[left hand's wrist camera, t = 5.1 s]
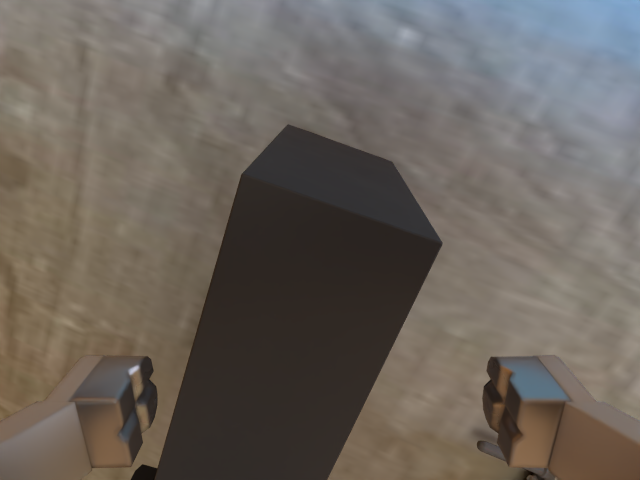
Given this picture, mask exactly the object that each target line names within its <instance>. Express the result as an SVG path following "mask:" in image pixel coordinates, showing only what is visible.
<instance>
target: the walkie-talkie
mask: <svg viewBox="0 0 640 480" xmlns="http://www.w3.org/2000/svg"><path fill="white" fill-rule="evenodd" d="M477 448H478V449H479V450H480V451H482V452H484V453H487V454H489V455H492V456H494V457H496V458H499V459H501V460H504V461H506V460H505V458H504V456H503V454H502V452H501V449H500V447H498V446H496V445H493V444H491V443H488V442H486V441H478V442H477ZM521 468H523V469H526V470H528V471H531V472H533V473H534V474H533V476H531V475H529V476H528V477H527V480H559V479H558V478H557V477H555V476H554V475H553V474H552V473H551V472H550V471H548V468H526V467H521Z"/></svg>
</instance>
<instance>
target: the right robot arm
mask: <svg viewBox="0 0 640 480" xmlns="http://www.w3.org/2000/svg"><path fill="white" fill-rule="evenodd" d="M156 472H157V468H154V467H150V466H147V465H143V464H142V465H141V466H140V467H139V468H138V469H137V470H136V471H135V472H134V474H133V476H132V478H131V480H154V479H155V476H156Z"/></svg>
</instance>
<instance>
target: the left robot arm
mask: <svg viewBox="0 0 640 480" xmlns="http://www.w3.org/2000/svg"><path fill="white" fill-rule="evenodd" d="M152 373H153V366H152V362H151V359H150V358H149V357H148V356H108V355H107V356H104V355H86V356H84V357H81V358H80V359H79V360H78V361H77V362H76V364H75V365H74V366H73V367H72V368H71V370H70V371H69V372H68V373H67V374H66V376H65V377H64V378H63V379H62V380H61V381H60V383H59V384H58V385H57V386H56V387H55V389H54V390H53V391H52V392H51V393H50V394H49V396H48V397H47V398H46V399H45V400H44V402H35V403H33V404H31V405H29V406H28V407H26V408H24V409H22V410H20V411H18V412H16V413H14V414H13V415H11V416H9V417H7V418H5V419H3V420H1V421H0V480H81V479H83V478H84V477H85V476H86V475H87V474H88V473H89V472H91V471H92V468H113V467H131V466H132V464H133V462H134V460H135V458H136V456H137V454H138V452H139V449H140V447H141V445H142V443H143V441H142V435H141V434H142V433H143V432H144V431H146V430H147V429H148V428H150V426H151V424H152V422H153V420H154V418H155V413H156V408H157V389H156V386H155V385H154V384H153V383H152V382H151V381H150V380H149V378H150V377H151V375H152ZM487 373H488V375H489V377H490V378H491V380H490V381H489V382H488V383H487V384H486V385H485V386H484V390H483V397H482V399H483V410H484V414H485V417H486V420H487V422H488V424H489V426H490V428H492V429H493V430H494V431H496V432H497V433H498V434H499V435H498V441H497V443H498V445H499V447H500V449H501V452H502V454H503V456H504V458H505V460H506V462H507V464H508V466H509V467H526V468H548V471H550V472H551V473H552V474H553V475H554V476H555V477H557V478H558V479H559V480H640V421H639V420H637V419H635V418H633V417H631V416H629V415H627V414H626V413H624V412H622V411H620V410H618V409H616V408H614V407H612V406H610V405H609V404H607V403H605V402H596V400H595V399H594V398H593V397H592V396H591V395H590V393H589V392H588V391H587V390H586V389H585V387H584V386H583V385H582V384H581V383H580V382H579V380H578V379H577V378H576V377H575V376H574V374H573V373H572V372H571V371H570V370H569V368H568V367H567V366H566V365H565V364H564V363H563V361H562V360H561V359H560V358H559V357H557V356H555V355H543V356H527V357H491V358H490V360H489V361H488V366H487Z"/></svg>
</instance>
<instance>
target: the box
mask: <svg viewBox="0 0 640 480" xmlns="http://www.w3.org/2000/svg"><path fill="white" fill-rule="evenodd" d="M441 246H442V241H441V240H440V238H439V236H438V235H437V233H436V232H435V230H434V228H433V227H432V225H431V224H430V222H429V220H428V219H427V217H426V216H425V214H424V212H423V211H422V209H421V207H420V206H419V204H418V203H417V201H416V199H415V198H414V196H413V195H412V193H411V191H410V190H409V188H408V187H407V185H406V183H405V182H404V180H403V179H402V177H401V175H400V174H399V172H398V170H397V169H396V167H395V166H394V164H393V162H391V161H389V160H386V159H383V158H380V157H378V156H375V155H372V154H369V153H366V152H364V151H361V150H358V149H355V148H353V147H350V146H347V145H344V144H341V143H339V142H336V141H333V140H330V139H328V138H325V137H322V136H319V135H316V134H314V133H311V132H308V131H305V130H303V129H300V128H297V127H294V126H291V125H287V126H286V127H285V128H284V129H283V130H282V131H281V132H280V133H279V135H278V136H277V137H276V138H275V139H274V140H273V141H272V142H271V143H270V144H269V145H268V146H267V148H266V149H265V150H264V151H263V152H262V153H261V154H260V155H259V156H258V157H257V158H256V159H255V160H254V162H253V163H252V164H251V165H250V166H249V167H248V168H247V169H246V170H245V171H244V172H243V173H242V175H241V178H240V181H239V185H238V188H237V192H236V195H235V199H234V202H233V206H232V209H231V213H230V216H229V220H228V223H227V227H226V230H225V234H224V237H223V241H222V244H221V248H220V251H219V255H218V258H217V262H216V265H215V269H214V272H213V276H212V280H211V283H210V287H209V290H208V294H207V297H206V301H205V304H204V308H203V311H202V315H201V318H200V322H199V325H198V329H197V332H196V336H195V339H194V343H193V346H192V350H191V353H190V357H189V360H188V364H187V367H186V371H185V374H184V378H183V381H182V385H181V388H180V392H179V395H178V399H177V402H176V406H175V409H174V413H173V416H172V420H171V423H170V427H169V430H168V434H167V437H166V441H165V444H164V448H163V451H162V455H161V458H160V462H159V465H158V469H157V472H156V476H155V479H154V480H327V479H328V477H329V475H330V473H331V471H332V469H333V467H334V465H335V463H336V461H337V458H338V456H339V454H340V452H341V450H342V448H343V446H344V444H345V442H346V440H347V438H348V436H349V434H350V432H351V430H352V428H353V426H354V424H355V422H356V420H357V418H358V416H359V414H360V412H361V409H362V407H363V405H364V403H365V401H366V399H367V397H368V395H369V393H370V391H371V389H372V387H373V385H374V383H375V381H376V379H377V377H378V375H379V373H380V371H381V369H382V367H383V365H384V362H385V360H386V358H387V356H388V354H389V352H390V350H391V348H392V346H393V344H394V342H395V340H396V338H397V336H398V334H399V332H400V330H401V328H402V326H403V324H404V322H405V320H406V318H407V316H408V313H409V311H410V309H411V307H412V305H413V303H414V301H415V299H416V297H417V295H418V293H419V291H420V289H421V287H422V285H423V283H424V281H425V279H426V277H427V275H428V273H429V271H430V269H431V266H432V264H433V262H434V260H435V258H436V256H437V254H438V252H439V250H440V248H441Z"/></svg>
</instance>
